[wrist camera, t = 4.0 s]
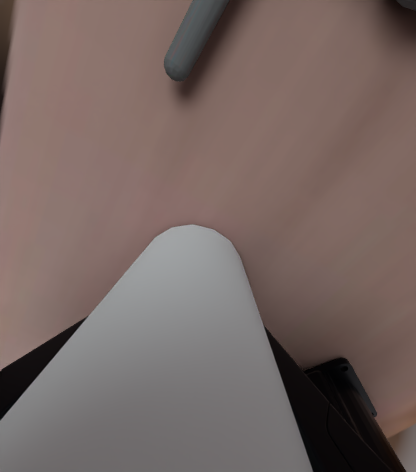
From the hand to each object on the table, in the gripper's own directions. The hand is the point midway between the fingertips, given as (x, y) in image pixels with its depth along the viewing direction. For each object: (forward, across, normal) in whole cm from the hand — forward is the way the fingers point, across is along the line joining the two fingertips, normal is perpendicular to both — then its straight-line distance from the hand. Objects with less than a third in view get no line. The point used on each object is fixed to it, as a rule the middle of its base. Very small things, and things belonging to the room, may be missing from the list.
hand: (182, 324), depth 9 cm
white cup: (+4, 0, 0) cm, 4 cm away
